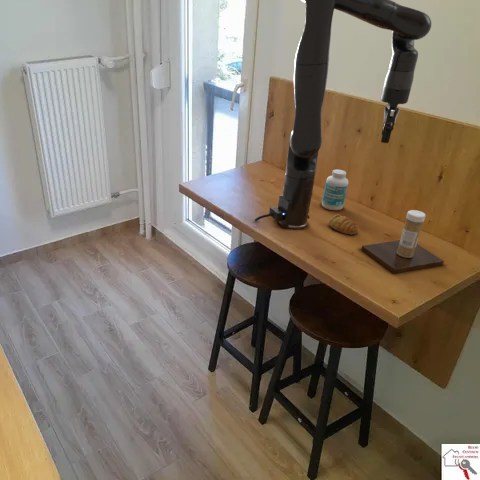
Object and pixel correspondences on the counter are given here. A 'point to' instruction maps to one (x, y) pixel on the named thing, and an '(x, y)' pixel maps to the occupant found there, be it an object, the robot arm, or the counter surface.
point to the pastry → (343, 224)
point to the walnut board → (398, 264)
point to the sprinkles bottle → (410, 233)
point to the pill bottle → (335, 190)
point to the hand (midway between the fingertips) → (384, 139)
